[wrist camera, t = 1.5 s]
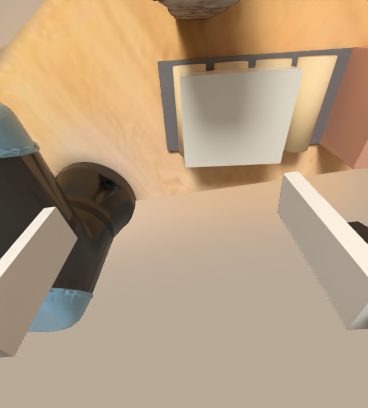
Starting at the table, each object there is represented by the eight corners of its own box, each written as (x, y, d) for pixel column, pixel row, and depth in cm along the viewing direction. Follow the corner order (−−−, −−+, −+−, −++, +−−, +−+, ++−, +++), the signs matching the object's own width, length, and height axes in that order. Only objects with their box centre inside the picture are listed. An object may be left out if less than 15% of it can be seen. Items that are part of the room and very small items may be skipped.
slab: (185, 154, 29) (185, 167, 26) (180, 72, 23) (179, 76, 20) (270, 150, 29) (280, 163, 26) (287, 65, 23) (304, 68, 20)
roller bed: (168, 149, 34) (165, 162, 30) (158, 61, 27) (153, 63, 23) (336, 141, 33) (355, 153, 29) (374, 46, 25) (406, 46, 22)
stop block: (317, 142, 33) (353, 168, 26) (349, 48, 25) (412, 48, 18) (336, 141, 33) (378, 167, 25) (374, 46, 25) (448, 46, 18)
